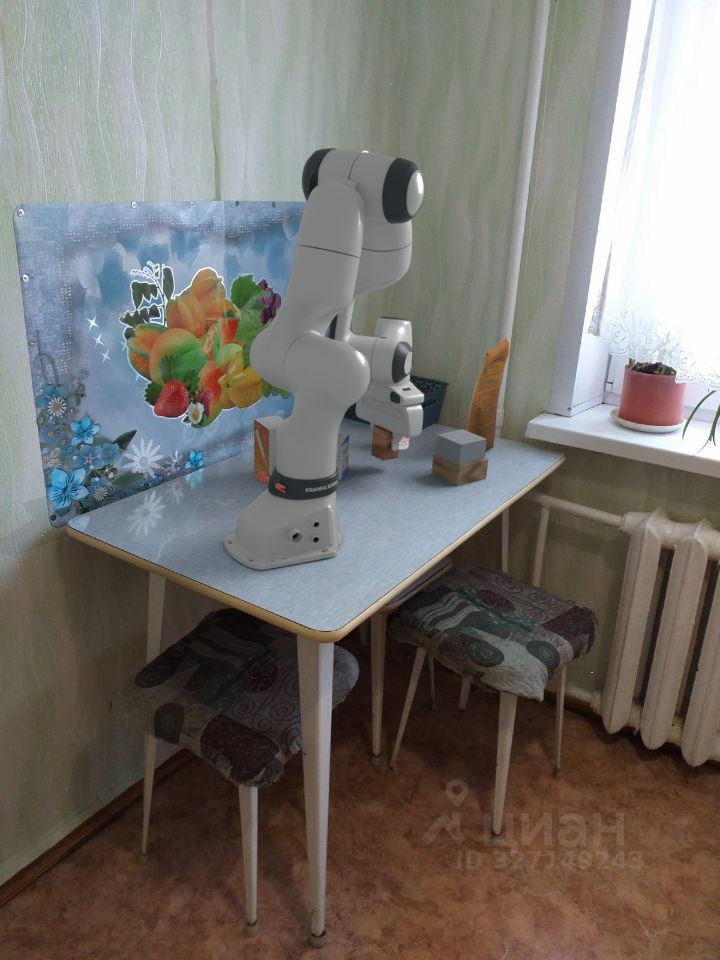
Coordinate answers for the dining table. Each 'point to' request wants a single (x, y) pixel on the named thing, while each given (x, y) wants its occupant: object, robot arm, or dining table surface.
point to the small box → (265, 443)
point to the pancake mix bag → (488, 394)
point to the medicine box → (342, 455)
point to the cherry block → (382, 444)
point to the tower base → (459, 471)
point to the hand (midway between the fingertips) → (385, 445)
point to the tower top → (461, 447)
